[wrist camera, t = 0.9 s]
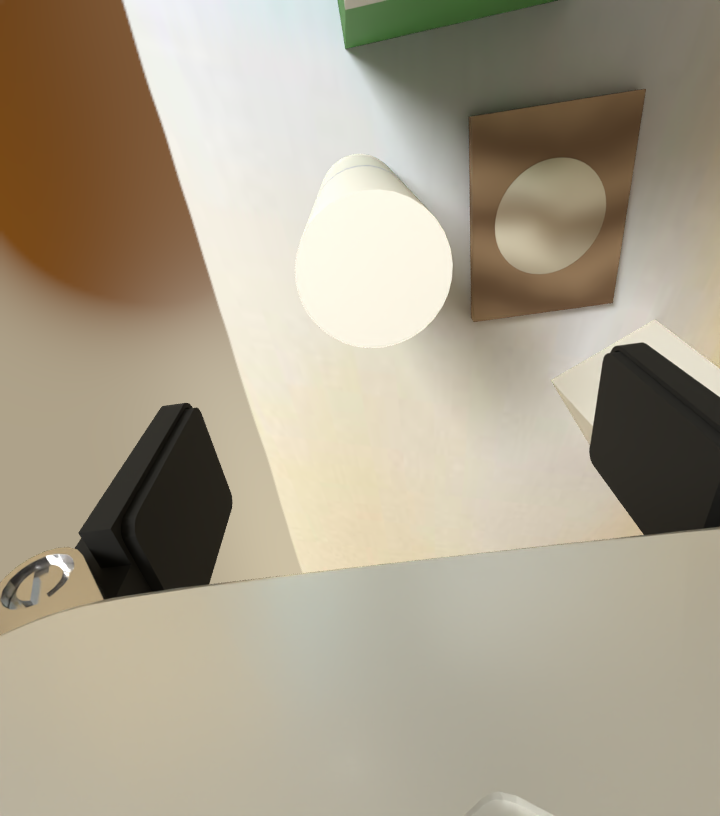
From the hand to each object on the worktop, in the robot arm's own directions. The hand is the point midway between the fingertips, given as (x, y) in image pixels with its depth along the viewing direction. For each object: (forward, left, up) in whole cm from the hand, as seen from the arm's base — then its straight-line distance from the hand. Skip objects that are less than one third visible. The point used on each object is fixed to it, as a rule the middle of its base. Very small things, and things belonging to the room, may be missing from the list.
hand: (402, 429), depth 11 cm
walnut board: (+4, +17, -37) cm, 41 cm away
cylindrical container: (0, 0, -37) cm, 37 cm away
